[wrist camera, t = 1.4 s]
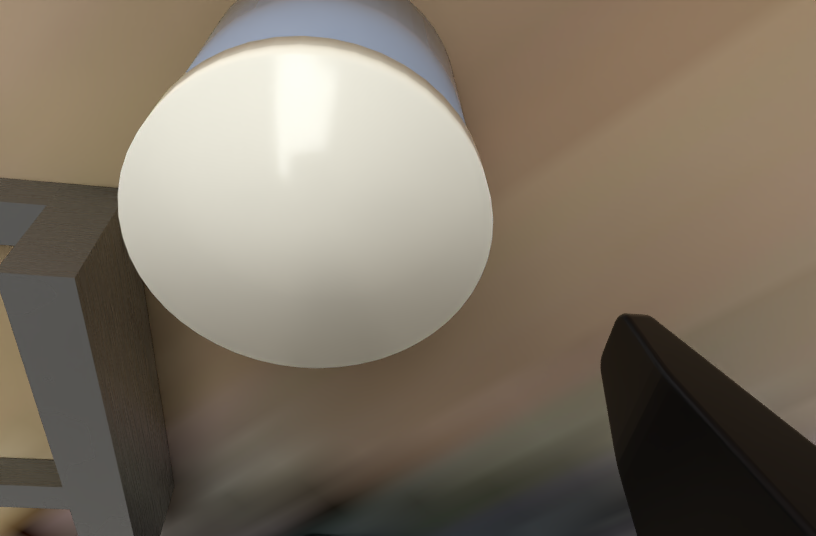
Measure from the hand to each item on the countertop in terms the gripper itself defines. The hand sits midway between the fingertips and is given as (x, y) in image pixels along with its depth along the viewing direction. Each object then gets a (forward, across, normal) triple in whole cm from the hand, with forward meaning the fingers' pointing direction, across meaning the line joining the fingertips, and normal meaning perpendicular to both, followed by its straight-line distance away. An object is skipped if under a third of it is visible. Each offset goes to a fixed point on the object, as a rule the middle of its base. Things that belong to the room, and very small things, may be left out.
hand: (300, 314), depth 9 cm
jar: (+7, 0, 0) cm, 7 cm away
